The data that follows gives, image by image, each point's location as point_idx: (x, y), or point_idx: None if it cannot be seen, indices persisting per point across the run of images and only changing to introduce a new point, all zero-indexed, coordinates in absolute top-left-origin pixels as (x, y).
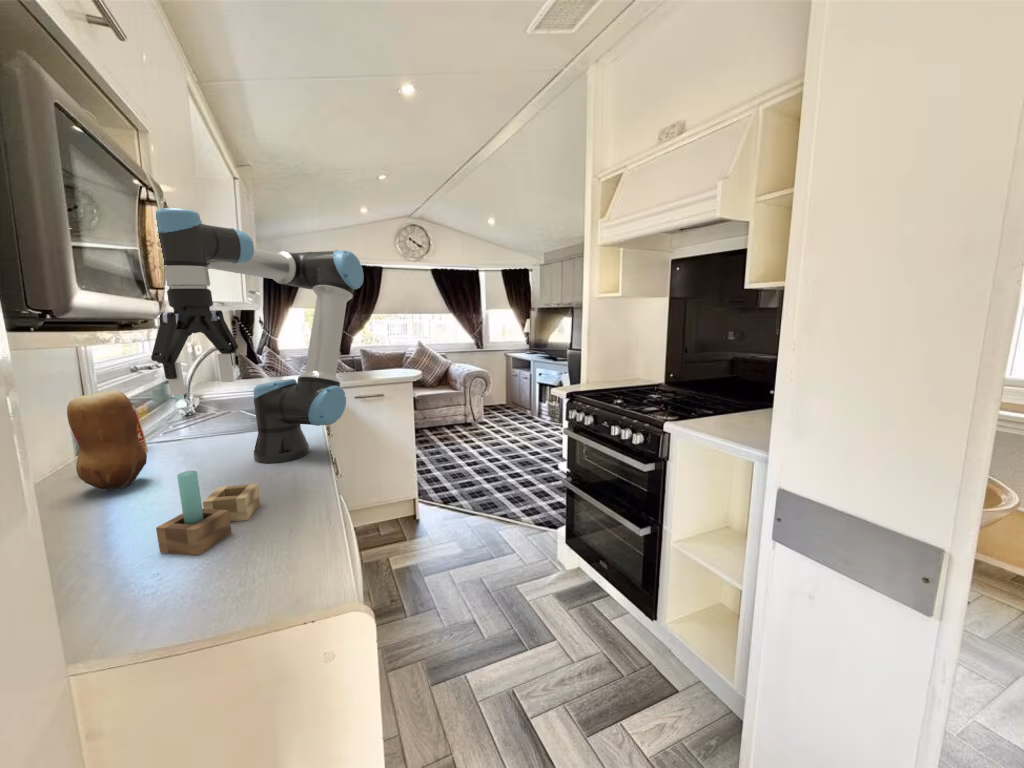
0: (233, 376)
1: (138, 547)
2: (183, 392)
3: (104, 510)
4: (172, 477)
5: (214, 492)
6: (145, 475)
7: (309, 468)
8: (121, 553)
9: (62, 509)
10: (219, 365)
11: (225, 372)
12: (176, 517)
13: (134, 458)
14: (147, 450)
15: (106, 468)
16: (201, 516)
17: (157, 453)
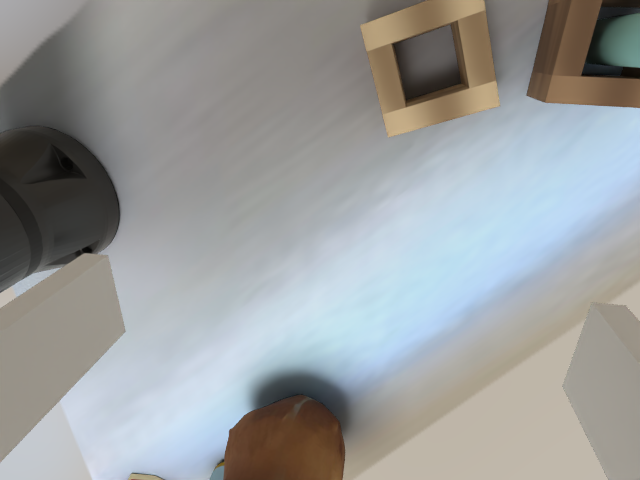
0: (56, 273)
1: (595, 174)
2: (624, 313)
3: (401, 364)
4: (237, 353)
5: (430, 120)
6: (236, 405)
7: (114, 47)
8: (619, 190)
9: (396, 430)
10: (24, 430)
11: (64, 340)
12: (611, 101)
13: (284, 427)
14: (131, 475)
15: (331, 445)
16: (635, 13)
17: (134, 454)
